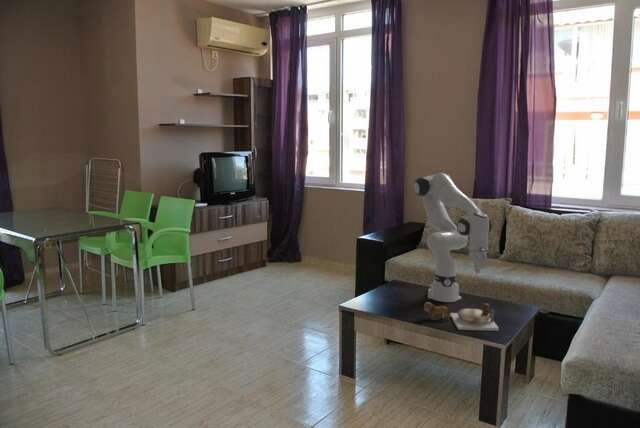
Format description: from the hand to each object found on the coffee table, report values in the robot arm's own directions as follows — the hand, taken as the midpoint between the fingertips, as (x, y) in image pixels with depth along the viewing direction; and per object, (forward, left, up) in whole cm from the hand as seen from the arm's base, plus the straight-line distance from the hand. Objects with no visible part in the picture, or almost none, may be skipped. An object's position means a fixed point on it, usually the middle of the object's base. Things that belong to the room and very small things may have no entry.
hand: (477, 272), depth 257 cm
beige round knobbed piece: (+7, -1, -21) cm, 22 cm away
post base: (+7, -2, -24) cm, 25 cm away
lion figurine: (+3, -19, -24) cm, 31 cm away
